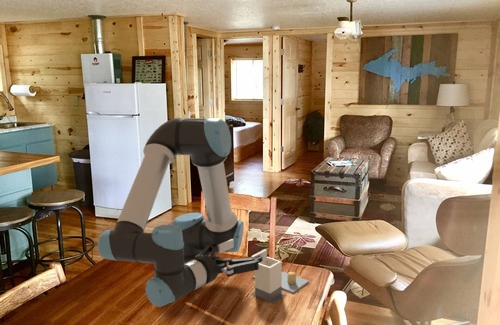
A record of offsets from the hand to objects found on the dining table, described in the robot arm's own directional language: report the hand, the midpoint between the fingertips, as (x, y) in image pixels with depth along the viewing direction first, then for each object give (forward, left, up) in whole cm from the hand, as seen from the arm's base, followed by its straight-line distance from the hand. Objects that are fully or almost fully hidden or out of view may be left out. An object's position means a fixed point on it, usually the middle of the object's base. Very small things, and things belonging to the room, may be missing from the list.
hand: (248, 248), depth 130 cm
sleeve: (0, +10, -20) cm, 23 cm away
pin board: (-3, +21, -21) cm, 30 cm away
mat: (0, +10, -21) cm, 23 cm away
